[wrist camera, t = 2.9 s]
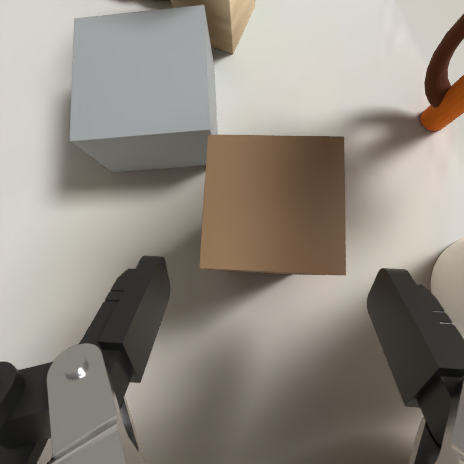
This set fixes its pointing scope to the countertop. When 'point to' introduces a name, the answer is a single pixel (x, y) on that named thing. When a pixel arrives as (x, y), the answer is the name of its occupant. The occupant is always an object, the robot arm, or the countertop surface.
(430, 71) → the knife
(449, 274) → the cylindrical container
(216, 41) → the oak block
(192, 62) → the base block
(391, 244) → the countertop surface
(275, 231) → the walnut block
